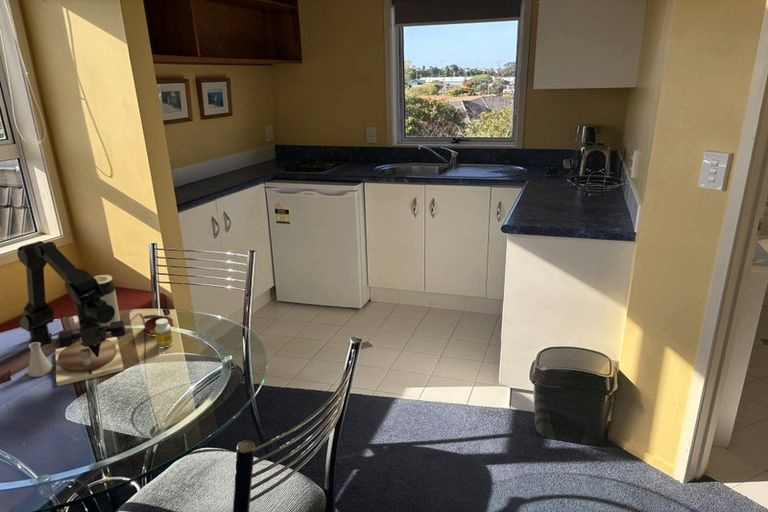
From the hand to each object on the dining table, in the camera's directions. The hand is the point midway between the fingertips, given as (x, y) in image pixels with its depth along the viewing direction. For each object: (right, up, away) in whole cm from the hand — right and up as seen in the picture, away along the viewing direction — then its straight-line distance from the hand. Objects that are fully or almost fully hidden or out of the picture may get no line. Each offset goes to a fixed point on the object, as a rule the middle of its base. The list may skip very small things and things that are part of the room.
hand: (97, 356), depth 177 cm
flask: (-19, -5, +1) cm, 20 cm away
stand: (-6, -3, +7) cm, 10 cm away
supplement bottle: (+15, +1, +18) cm, 23 cm away
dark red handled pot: (+9, +5, +28) cm, 30 cm away
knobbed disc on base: (-6, -1, +6) cm, 9 cm away
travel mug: (-12, +7, +32) cm, 35 cm away
